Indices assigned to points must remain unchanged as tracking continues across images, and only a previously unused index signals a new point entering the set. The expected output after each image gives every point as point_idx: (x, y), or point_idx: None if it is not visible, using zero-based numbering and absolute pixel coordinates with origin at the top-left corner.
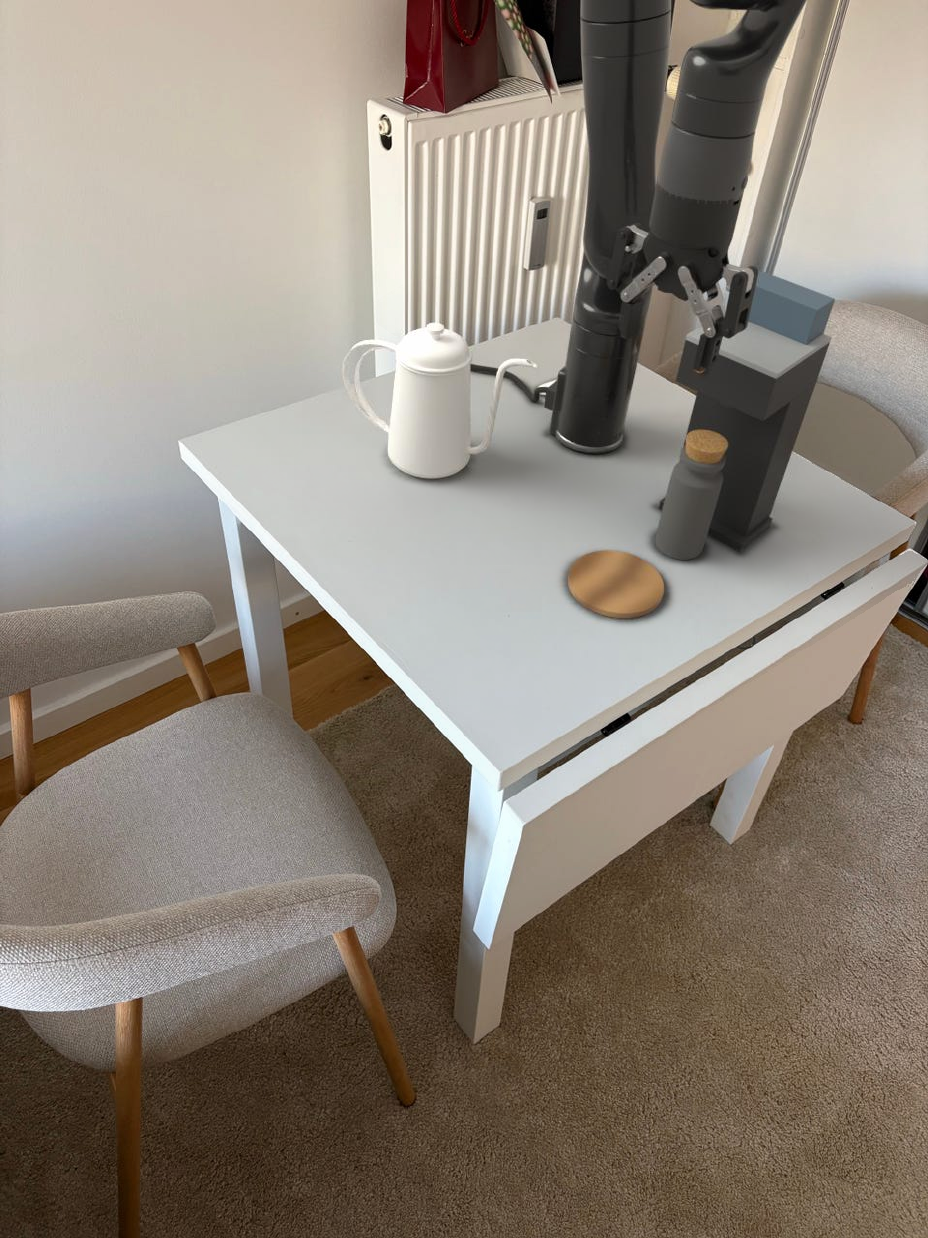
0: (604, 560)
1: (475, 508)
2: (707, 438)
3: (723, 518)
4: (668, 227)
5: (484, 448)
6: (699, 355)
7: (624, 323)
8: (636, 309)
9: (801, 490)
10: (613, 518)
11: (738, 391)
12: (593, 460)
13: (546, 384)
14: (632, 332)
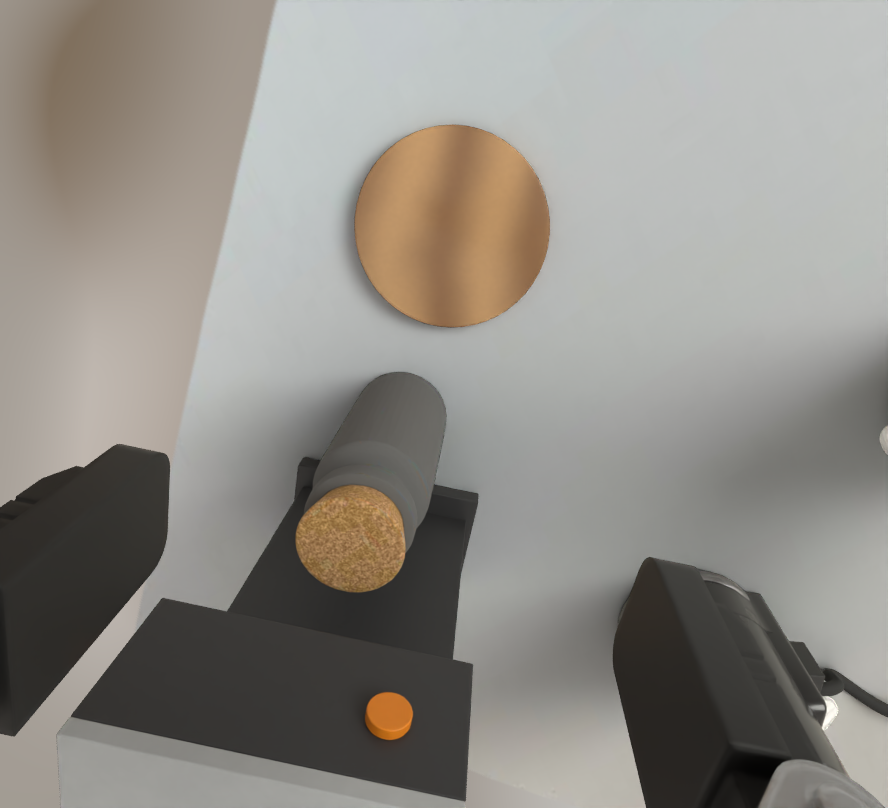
0: (497, 276)
1: (816, 290)
2: (353, 555)
3: None
4: None
5: (883, 432)
6: (82, 492)
7: (708, 619)
8: (677, 750)
9: None
10: (540, 420)
11: (239, 660)
12: None
13: (824, 724)
14: (634, 619)
